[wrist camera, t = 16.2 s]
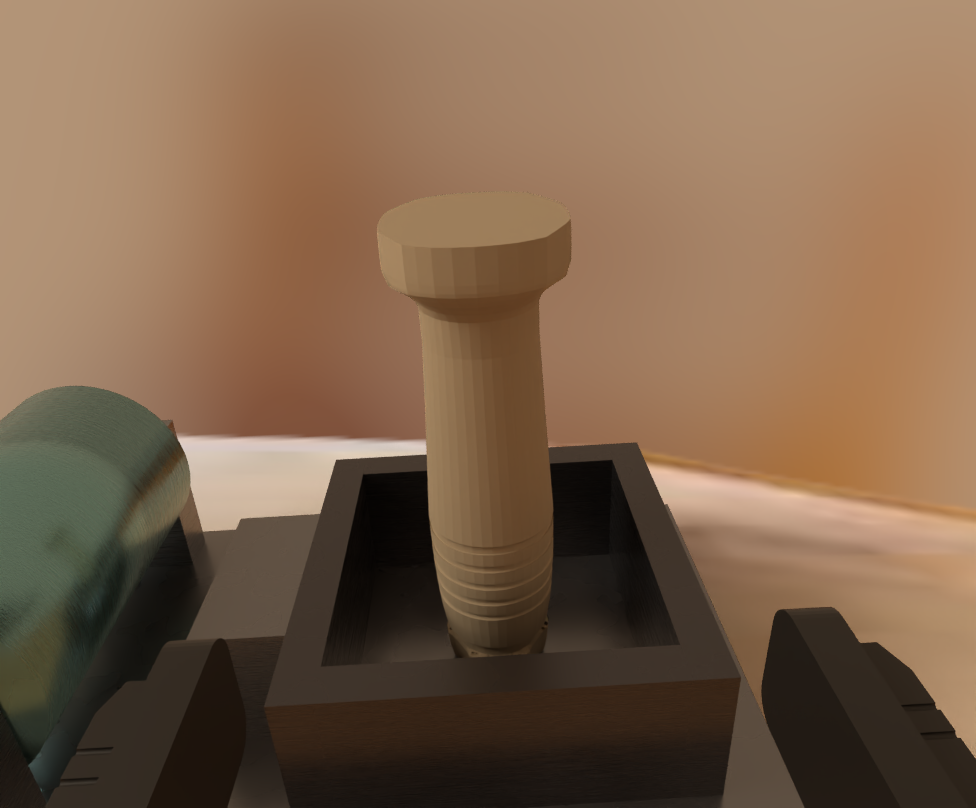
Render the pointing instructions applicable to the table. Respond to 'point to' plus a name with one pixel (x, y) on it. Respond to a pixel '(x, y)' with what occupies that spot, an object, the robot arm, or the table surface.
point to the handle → (484, 402)
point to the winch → (364, 632)
